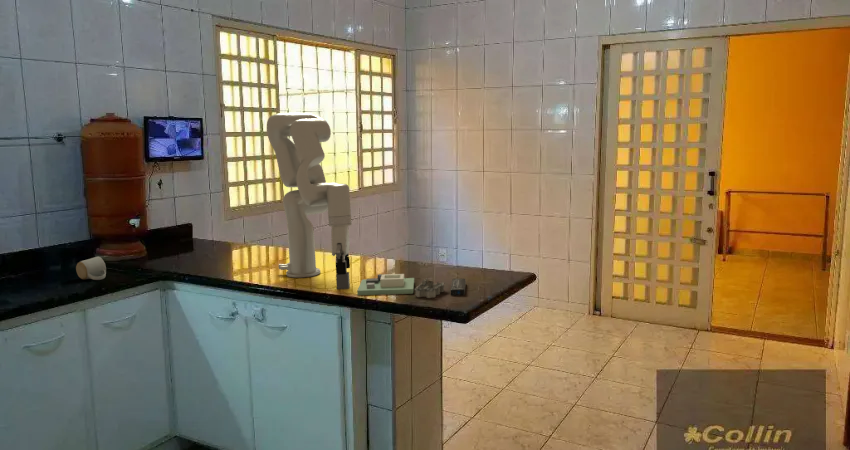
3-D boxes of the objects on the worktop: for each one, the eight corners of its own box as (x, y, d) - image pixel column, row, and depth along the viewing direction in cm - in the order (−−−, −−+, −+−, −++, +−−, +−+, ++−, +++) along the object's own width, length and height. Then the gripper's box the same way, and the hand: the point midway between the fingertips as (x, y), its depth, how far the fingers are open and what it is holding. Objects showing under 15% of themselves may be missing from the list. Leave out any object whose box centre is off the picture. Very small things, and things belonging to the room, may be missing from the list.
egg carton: (427, 289, 207) (426, 277, 206) (447, 291, 204) (447, 279, 203) (411, 297, 198) (411, 284, 197) (432, 299, 194) (432, 286, 194)
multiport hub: (465, 285, 211) (465, 278, 211) (464, 296, 197) (464, 289, 197) (452, 285, 212) (452, 278, 211) (450, 296, 197) (450, 289, 197)
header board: (357, 295, 201) (356, 283, 201) (362, 283, 216) (361, 272, 215) (413, 293, 201) (412, 281, 200) (414, 282, 216) (413, 270, 215)
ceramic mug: (75, 279, 238) (73, 259, 237) (96, 274, 245) (94, 255, 244) (91, 282, 233) (89, 262, 231) (112, 277, 239) (110, 258, 238)
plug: (336, 289, 210) (335, 262, 209) (338, 286, 213) (336, 260, 212) (348, 288, 210) (347, 261, 208) (349, 286, 213) (348, 259, 212)
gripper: (332, 218, 217) (336, 266, 219) (324, 224, 199) (328, 277, 202) (354, 217, 216) (357, 265, 219) (347, 223, 199) (351, 276, 202)
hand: (343, 271), depth 210 cm, fingers open, 9 cm apart
